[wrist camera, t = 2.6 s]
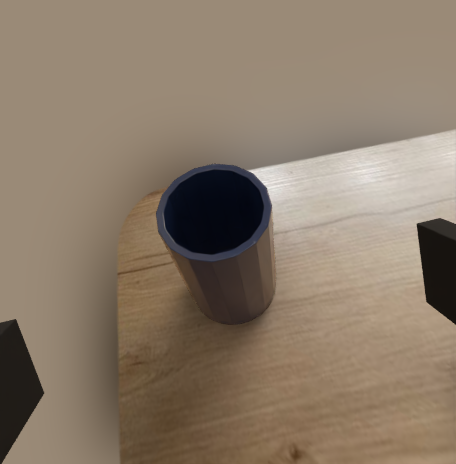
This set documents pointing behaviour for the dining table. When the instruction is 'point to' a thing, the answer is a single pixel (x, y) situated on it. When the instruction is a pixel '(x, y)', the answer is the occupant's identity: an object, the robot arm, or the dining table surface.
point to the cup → (221, 240)
